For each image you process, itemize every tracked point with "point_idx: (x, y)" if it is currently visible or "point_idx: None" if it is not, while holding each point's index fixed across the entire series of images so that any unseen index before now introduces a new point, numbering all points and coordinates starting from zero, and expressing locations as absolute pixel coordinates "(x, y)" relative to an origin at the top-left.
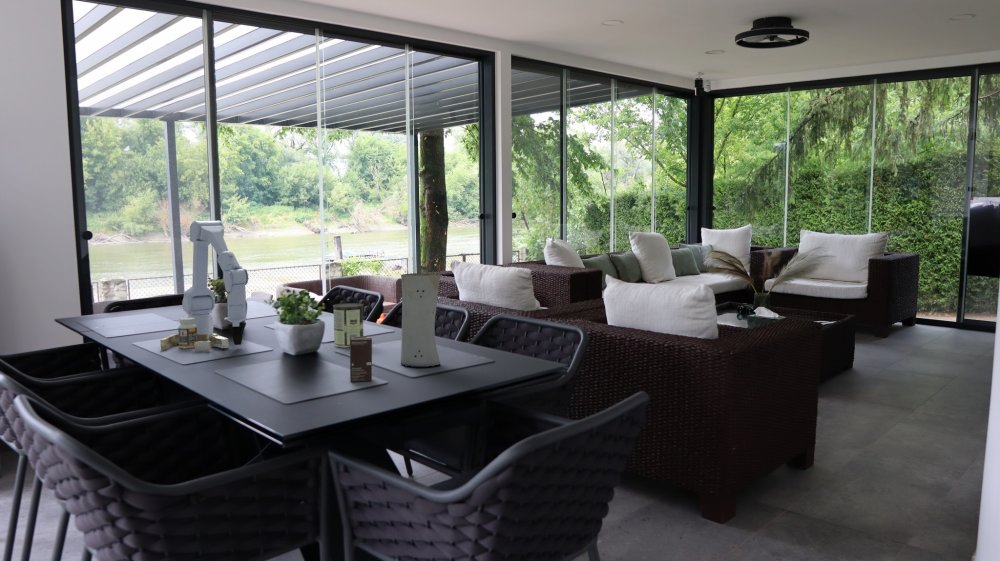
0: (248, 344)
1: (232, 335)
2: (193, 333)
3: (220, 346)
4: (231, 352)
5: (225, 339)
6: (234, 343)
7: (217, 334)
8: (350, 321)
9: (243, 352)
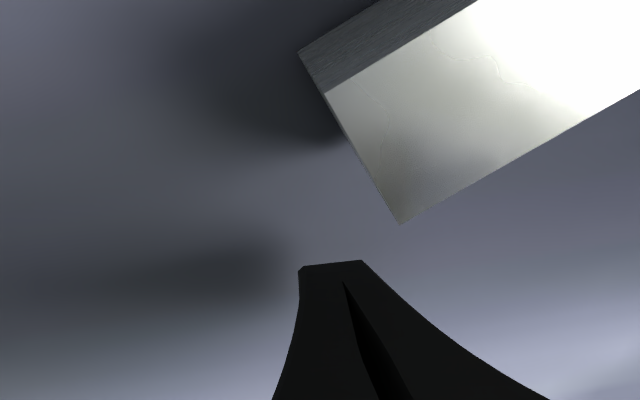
0: (571, 329)
1: (284, 374)
2: None
3: (354, 22)
4: (26, 228)
5: (366, 164)
6: (301, 281)
7: None
8: None
9: (27, 372)
